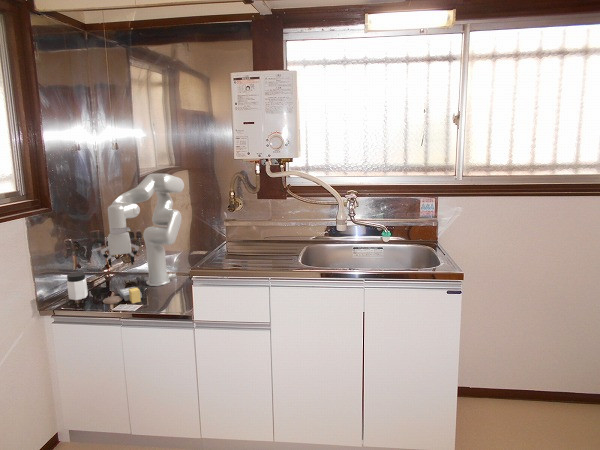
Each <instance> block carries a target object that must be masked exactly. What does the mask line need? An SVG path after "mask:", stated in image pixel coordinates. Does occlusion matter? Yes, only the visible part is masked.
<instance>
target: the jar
mask: <svg viewBox="0 0 600 450" xmlns="http://www.w3.org/2000/svg"><path fill="white" fill-rule="evenodd" d="M66 280H67V281H66V286H67V295H68V300H72V301H79V300H82V299H86V298H87V296H88V295H89V292H88V285H87V278H86V274H85V272H83V271H79V272H78V271H77V272H71V273H69V274H67V275H66Z"/></svg>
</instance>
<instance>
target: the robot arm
mask: <svg viewBox="0 0 600 450" xmlns="http://www.w3.org/2000/svg"><path fill="white" fill-rule="evenodd" d="M184 188H185V182H184V181H183V179H182V178H180V177H178V176H174V175H172V174H169V173H149V174H148V175H146V176H145V178H143V179H142V180H141V182H140V183H139V184H137V186H136V187H134V188H132V189H130V190H127V191H126V192H124V193H122V194H120V195H119V196H118V197H116V198H115V199H114V200H113V201H112V203H111V204H110V205H109V206H108V207H107V215H108V217H107V218H108V225H109V234H108V236H107V244H108V245H107V246H106V247H104V248H102V249H101V250H100V254H101V255H102V256H103V257H104V258H105V259H106V260H107V265H108V266H109V267H110V268H112V267H113V266H112V265H113V263H112V256H118V255H125V254H126V255H127V254H129V255H130V264H131V265H132V266H133V265H134V263H135V256H136V254H137V253H138V251H139V249H140V246H139V245H136V244H133V243H132V241H131V237H130V233H129V231H131V228H130V227H129V226H128V227H127V219H134V218H137V216H139V215H140V212H141V208H140V206H139V205H138V204H139V203H143V202H145V201H149V199H150V198H151V197H152V196H153V195H154V194H155V193H156V197H157V202H156V205H155V208H154V211H153V214H152V217H151V221H152V224H153V225H154V226H149V227H146V228H145V229H144V230H143V235H142V236H143V241H144V243H145V248H146V258H147V267H148V268H147V269H148V270H147V271H148V272H147V273H148V280H146V282H145V283H146V285H147V286H151V287H160V286H161V287H162V286H165V285H167V284H170V282H171V278H176V277H177V274H176V273H175V272H174V273H168V272H167V259H166V257H167V256H166V250H165V247H164V245H165V246H171V245H173V244H174V243H175V242H176V240H177V237H178V233H179V230H180V227H181V224H182V219H183V218H182V214H181V212H180V211H179V210H178V209H173V206H174V200H173V199H172V197H171V195H170V194H180V193H181V192H183V191H184ZM132 248H134V251H132ZM106 251H108V254H106V253H105V252H106Z"/></svg>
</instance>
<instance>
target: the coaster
mask: <svg viewBox="0 0 600 450" xmlns="http://www.w3.org/2000/svg"><path fill="white" fill-rule="evenodd" d="M123 300H124V299H123V298H122V296H121V295H120V296H119V295H113V296H108V297H104V299H103V300H102V303H103V304H104V305H115V304H118V303H121V302H122V301H123Z"/></svg>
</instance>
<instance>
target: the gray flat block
mask: <svg viewBox="0 0 600 450" xmlns="http://www.w3.org/2000/svg"><path fill="white" fill-rule="evenodd" d="M134 287H135V286H132V287H127V288H126V287H125V288H120V289H119V290H118V291H119V293H118V294H119V295H120V296H121V297H122V299H123V300H124V301H125V302H128V301H130V298H129V288H134ZM140 298H143V294H142V292H141V291H140Z"/></svg>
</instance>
